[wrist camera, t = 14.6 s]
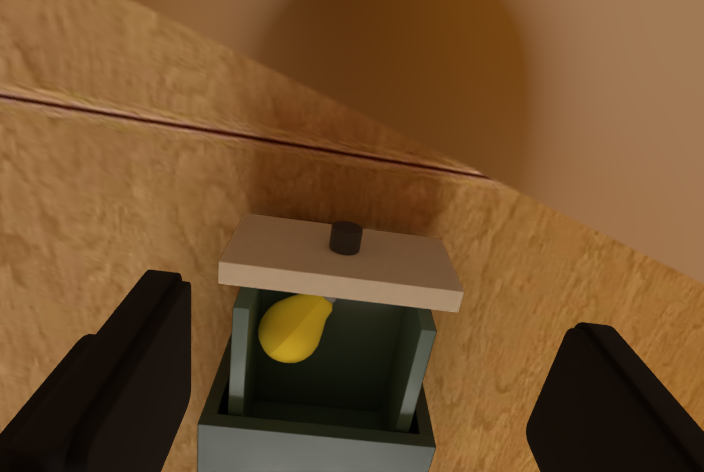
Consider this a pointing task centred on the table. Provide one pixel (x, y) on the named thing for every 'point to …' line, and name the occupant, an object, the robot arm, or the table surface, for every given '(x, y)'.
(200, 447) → the cabinet
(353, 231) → the drawer
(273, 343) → the light bulb
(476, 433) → the table surface
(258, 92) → the table surface
